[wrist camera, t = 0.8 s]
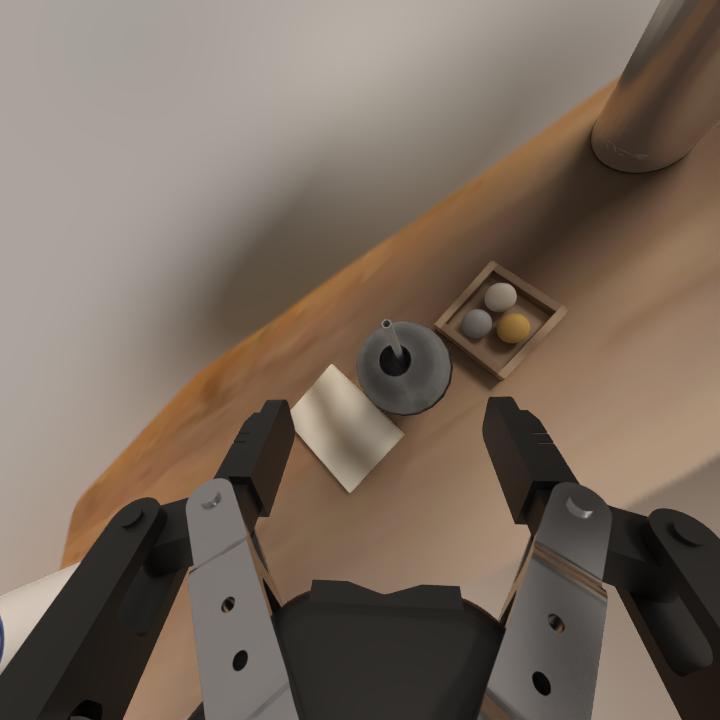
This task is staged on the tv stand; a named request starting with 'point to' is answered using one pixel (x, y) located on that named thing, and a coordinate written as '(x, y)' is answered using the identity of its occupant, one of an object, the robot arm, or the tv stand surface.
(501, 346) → the marble tray
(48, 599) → the cylindrical container
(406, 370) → the beverage cup
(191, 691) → the tv stand surface
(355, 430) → the ash board
